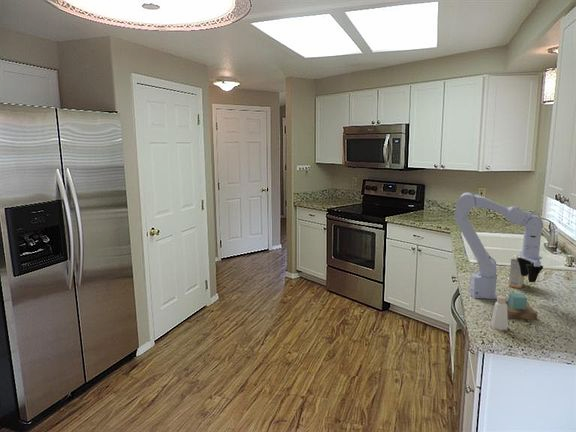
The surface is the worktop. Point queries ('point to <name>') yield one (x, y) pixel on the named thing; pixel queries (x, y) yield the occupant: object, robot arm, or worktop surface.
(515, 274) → the supplement box
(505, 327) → the pepper shaker
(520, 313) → the walnut block
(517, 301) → the teal cube
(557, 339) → the worktop surface
